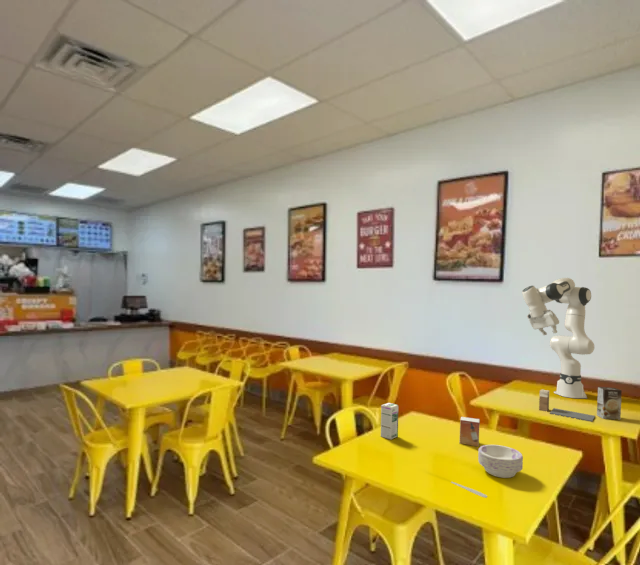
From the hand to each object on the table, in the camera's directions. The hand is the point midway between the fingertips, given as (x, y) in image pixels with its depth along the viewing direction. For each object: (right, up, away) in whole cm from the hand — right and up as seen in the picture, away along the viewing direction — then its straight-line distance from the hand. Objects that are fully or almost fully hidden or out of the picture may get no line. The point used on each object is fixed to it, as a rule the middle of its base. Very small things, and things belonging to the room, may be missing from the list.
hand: (550, 333), depth 247 cm
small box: (-70, -41, -62) cm, 102 cm away
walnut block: (-7, -43, -6) cm, 44 cm away
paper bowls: (-69, -41, -91) cm, 121 cm away
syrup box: (-105, -40, -57) cm, 126 cm away
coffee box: (+23, -44, -17) cm, 52 cm away
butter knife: (-90, -40, -100) cm, 140 cm away
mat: (+4, -43, -15) cm, 46 cm away
